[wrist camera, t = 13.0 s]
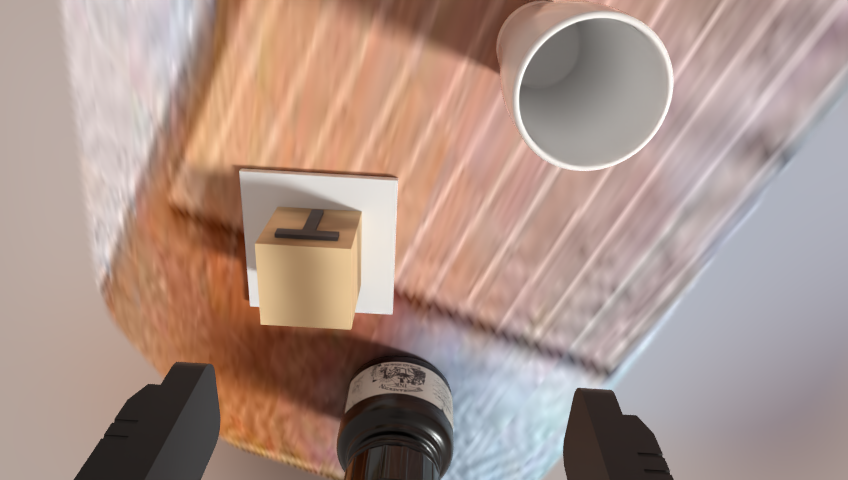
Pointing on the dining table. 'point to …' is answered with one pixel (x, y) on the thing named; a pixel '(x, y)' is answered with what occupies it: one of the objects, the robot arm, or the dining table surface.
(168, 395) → the robot arm
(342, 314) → the lettered block
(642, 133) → the white cup
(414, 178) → the dining table surface
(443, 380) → the ink bottle
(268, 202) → the white mat
